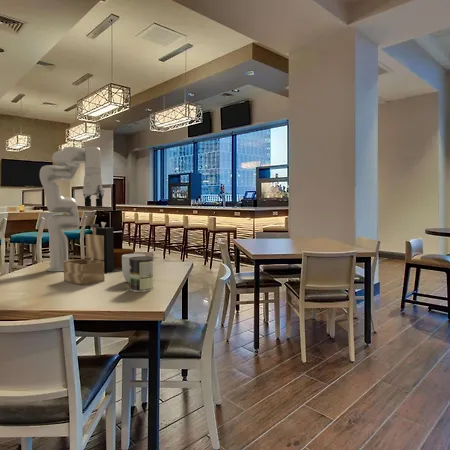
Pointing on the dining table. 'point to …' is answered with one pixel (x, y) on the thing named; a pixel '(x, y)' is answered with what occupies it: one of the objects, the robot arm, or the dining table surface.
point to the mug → (127, 265)
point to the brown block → (120, 256)
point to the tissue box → (107, 247)
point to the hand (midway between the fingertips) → (93, 206)
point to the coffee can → (141, 273)
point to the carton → (83, 271)
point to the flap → (94, 244)
